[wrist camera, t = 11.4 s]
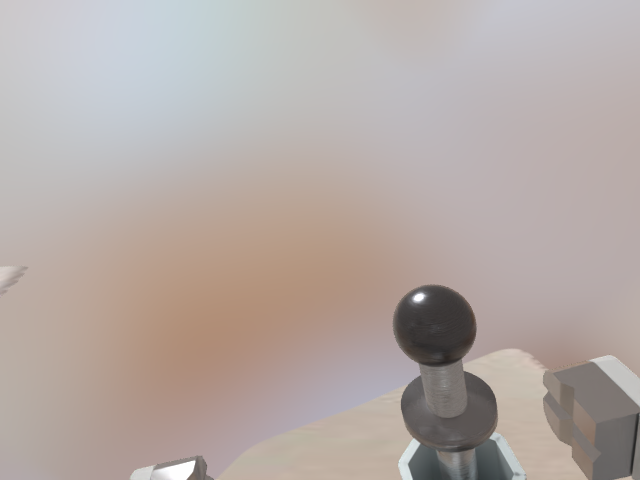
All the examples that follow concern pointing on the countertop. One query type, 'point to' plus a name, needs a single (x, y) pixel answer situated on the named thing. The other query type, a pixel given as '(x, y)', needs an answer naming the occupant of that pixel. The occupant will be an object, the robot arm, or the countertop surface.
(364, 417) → the countertop surface
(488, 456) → the grey faceted holder
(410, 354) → the plunger
